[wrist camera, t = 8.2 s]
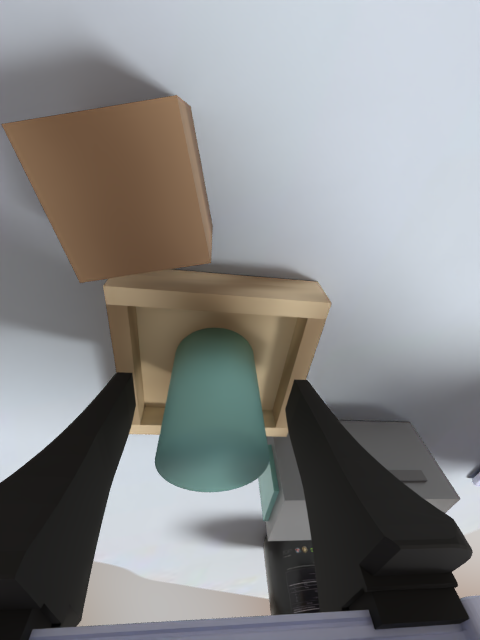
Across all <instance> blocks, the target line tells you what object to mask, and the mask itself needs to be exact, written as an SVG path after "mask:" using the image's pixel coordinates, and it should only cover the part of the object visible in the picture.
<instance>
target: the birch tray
mask: <svg viewBox="0 0 480 640" xmlns="http://www.w3.org/2000/svg"><path fill="white" fill-rule="evenodd" d="M103 289H104V295H105V302H106V308H107V315H108V321H109V328H110V334H111V340H112V347H113V353H114V360H115V366H116V373H117V372H125V373H132V374H133V383H134V392H135V400H136V407H135V412H134V417H133V421H132V425H131V429H130V432H129V434H156V435H160V431H161V426H162V420H163V415H164V410H165V405H166V400H167V395H168V389H169V384H170V379H171V374H172V369H173V363H174V358H175V353H176V350H177V347H178V345H179V344H180V342H181V341H182V340H183V339H184V338H185V337H187V336H188V335H190V334H191V333H193V332H195V331H198V330H201V329H205V328H224V329H228V330H231V331H234V332H236V333H238V334H240V335H241V336H243V337H244V338H245V339H246V340H247V341H248V342H249V344H250V346H251V348H252V350H253V354H254V360H255V367H256V373H257V380H258V386H259V392H260V399H261V405H262V412H263V418H264V424H265V431H266V436H274V437H287V434H288V426H287V419H286V412H285V408H286V405H287V402H288V398H289V395H290V392H291V389H292V385H293V382H294V379H295V380H306V377H307V375H308V372H309V369H310V366H311V363H312V360H313V357H314V354H315V351H316V348H317V345H318V342H319V339H320V336H321V333H322V330H323V327H324V324H325V321H326V318H327V315H328V312H329V309H330V306H331V301H330V300H329V298H328V297H327V295H326V294H325V292H324V291H323V289H322V288H321V286H320V285H319V283H318V282H315V281H303V280H291V279H279V278H267V277H255V276H243V275H231V274H219V273H207V272H195V271H183V270H171V269H168V270H161V271H155V272H148V273H142V274H135V275H129V276H122V277H116V278H109V279H108V280H107V281H106V283H105V284H104V285H103Z"/></svg>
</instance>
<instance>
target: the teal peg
mask: <svg viewBox="0 0 480 640" xmlns="http://www.w3.org/2000/svg"><path fill="white" fill-rule="evenodd" d="M268 464H269V450H268V444H267V437H266V431H265V424H264V418H263V412H262V405H261V399H260V392H259V386H258V380H257V373H256V367H255V360H254V354H253V350H252V348H251V346H250V344H249V342H248V341H247V340H246V339H245V338H244V337H243V336H241V335H240V334H238V333H236V332H234V331H231V330H228V329H224V328H205V329H201V330H198V331H195V332H193V333H191V334H190V335H188V336H187V337H185V338H184V339H183V340H182V341H181V342H180V344H179V345H178V347H177V350H176V353H175V358H174V363H173V369H172V374H171V379H170V384H169V389H168V395H167V400H166V405H165V410H164V415H163V420H162V426H161V431H160V436H159V441H158V446H157V452H156V457H155V466H156V469H157V471H158V472H159V474H160V475H161V476H162V477H163V478H164V479H165V480H166V481H168V482H169V483H171V484H173V485H175V486H177V487H180V488H183V489H187V490H191V491H198V492H220V491H227V490H232V489H236V488H239V487H242V486H244V485H247V484H249V483H251V482H253V481H254V480H256V479H257V478H258V477H260V476H261V475H262V474H263V473H264V471H265V470H266V468H267V466H268Z"/></svg>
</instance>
